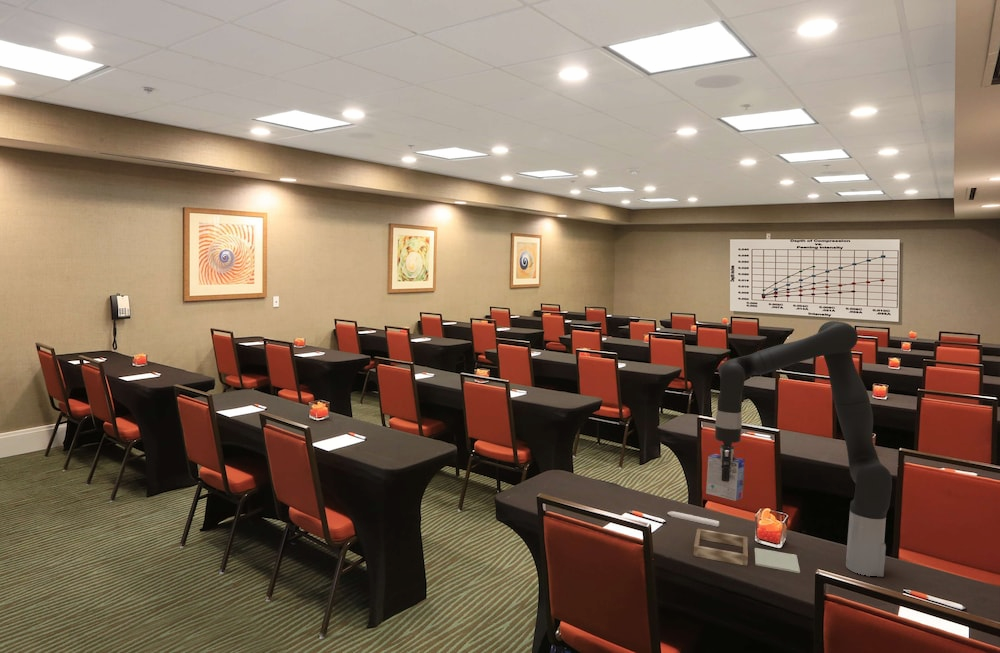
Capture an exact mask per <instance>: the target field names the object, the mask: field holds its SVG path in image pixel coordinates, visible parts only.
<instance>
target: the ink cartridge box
mask: <svg viewBox="0 0 1000 653" xmlns="http://www.w3.org/2000/svg"><path fill="white" fill-rule="evenodd" d="M734 454H735V452H734V453H733V455H734ZM724 465H729V462H724ZM721 466H722V462H721V454H718V453H713V454H711V455H709V456H707V469H706V470H707V472H706V488H705V489H706V490H705V494H707V495H710V496H711V495H712V496H714V497H715V496H716V497H719V498H724V499H727V500H731V501H735V502H737V501H738V500H741V499H742V498H744V497H743V496H744V492H743V491H744V477H745V459H744V458H740V457H734V456H733V458H732V462H731V463H730V467H731V469H730V474H729V482H725V481H722V468H721Z"/></svg>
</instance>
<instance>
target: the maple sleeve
mask: <svg viewBox="0 0 1000 653" xmlns="http://www.w3.org/2000/svg"><path fill="white" fill-rule="evenodd" d="M701 541H706V542H713V543H720V544H723V545H724V544H725V545H731V546H736V547H740V548H742V553H740V552H736V551H729V550H724V549H720V548H719V549H718V548H712V547H707V546H703V545H702V546H701V545H700V544H701V543H700V542H701ZM748 546H749V545H748V536H744V535H743V536H742V535H737V534H731V533H727V532H726V533H725V532H720V531H713V530H710V529H702V528H697V529H696V534H695V538H694V544H693V553H692V554H693V557H696V558H702V559H708V560H713V561H719V562H723V563H730V564H733V565H734V564H735V565H741V566H745V567H747V566H748V562H749V561H748V558H749V555H748V554H749V550H748Z"/></svg>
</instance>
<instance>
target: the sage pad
mask: <svg viewBox="0 0 1000 653" xmlns="http://www.w3.org/2000/svg"><path fill="white" fill-rule="evenodd" d="M754 560H755V561H754V563H755V566H757V567H763V568H769V569H775V570H780V571H785V572H790V573H795V574H800V573H801V570H800V566H799V560H798V555H797V554H792V553H786V552H782V551H781V552H780V551H777V550H776V551H775V550H770V549H764V548H758V547H754Z"/></svg>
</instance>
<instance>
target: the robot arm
mask: <svg viewBox="0 0 1000 653" xmlns="http://www.w3.org/2000/svg"><path fill="white" fill-rule="evenodd" d="M858 341H859V336H858V332H857V330H856V329H855V328H854V326H852V325H851V324H849V323H846V322H844V321H839V320H835V321H834V320H831V321H826V322H824V323H822V325H821V326H820V327H819V329H818V331H817V332H816V333H815V334H813V335H810V336H808V337H805V338H802V339H797V340H795V341H791V342H787V343H781V344H777V345H774V346H771V347H766V348H765V349H760V350H758V351H755V352H753V353H751V354H747V355H743V356H739V357H734V358H731V359H728V360H726V361H724V362H722V363H721V364H720V365H719V367H718V370H717V372H718V376H719V377H720V378H719V379H720V383H719V384H720V385H719V393H718V397H717V405H716V406H717V407H716V408H717V411H716V416H715V425H714V426H715V427H714V432H715V433H714V439H715V440H716V441H719V442H722V444H720V446H719V447H720V448H719V450H720V451H719V452H720V455H721V462H722V466H721V468H722V481H725V482H729V474H730V469H731V467H730V463H731V462H732V458H733V457H734V454H735V446H734V445H732V444H737V443H740V442H741V439H742V438H741V437H742V423H743V422H742V420H743V418H742V405H743V398H742V397H743V392H744V387H745V380H746V378H749V377H751V376H762V375H766V374H769V373H771V372H774V371H778V370H780V369H783V368H786V367H789V366H792V365H795V364H797V363H801V362H804V361H807V360H810V359H811V360H812V359H815V358H819V357H823V360H824V361H825V364H826V368H827V371H828V376H829V384H830V390H831V394H832V398H833V404H834V408H835V411H836V412H835V413H836V415H837V418H838V422H839V426H840V430H841V432H842V435H843V438H844V441H845V446H846V451H847V458H848V467H849V474H850V477H851V479H852V480H853V482H854V483H855V487H854V488H855V489H854V496H853V499H852V500H851V501H850V503H849V504H850V505H849V520H848V530H847V531H848V532H847V545H846V558H845V567H846V568H847V569H848V570H849V571H850V572H853V573H855V574H857V573H858V575H860V574H861V575H860V576H864V575H866V576H865V577H870V576H877V577H880V578H881V577H884V573H885V561H886V550H887V545H886V543H885V536H886V535H885V534H886V523H887V522H886V520H887V513H888V511H889V509H890V504H891V498H892V489H893V477H892V474H891V472H890V470H889V469H888V468H887V467H886V466H885V465H884V464H882V463H881V460H880V459H879V456H878V454H877V450H876V446H875V444H874V437H873V434H874V433H873V428H874V415H873V413H874V412H873V409H872V404H871V401H870V396H869V394H868V390H867V388H866V386H865V384H864V382H863V380H862V378H861V376H860V374H859V372H858V370H857V368H856V365H855V363H854V359H853V352H852V349H853V348H854V347H855V346H856V345H857V343H858ZM733 453H734V454H733ZM724 462H729V465H724Z"/></svg>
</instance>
